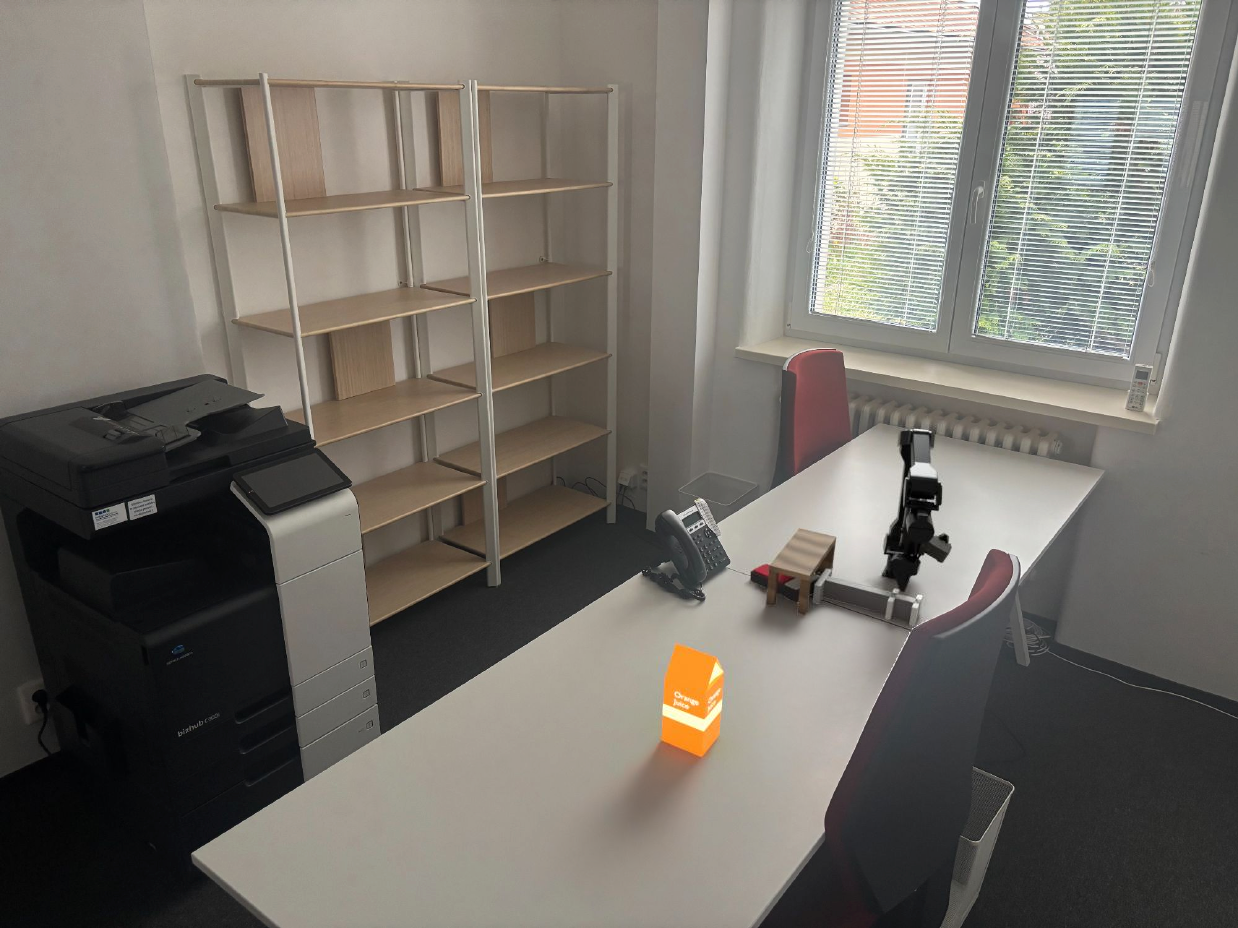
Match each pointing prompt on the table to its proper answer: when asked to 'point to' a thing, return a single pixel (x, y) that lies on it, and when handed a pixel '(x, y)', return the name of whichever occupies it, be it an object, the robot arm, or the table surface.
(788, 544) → the wooden stool
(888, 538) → the robot arm
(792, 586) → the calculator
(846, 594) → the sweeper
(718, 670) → the orange juice
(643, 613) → the table surface
